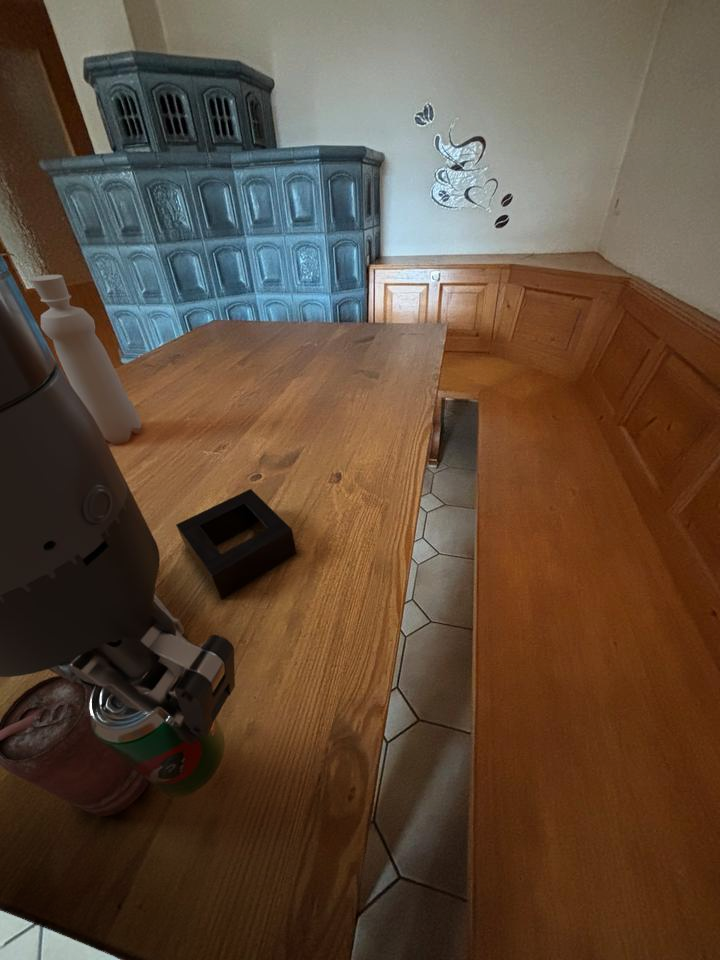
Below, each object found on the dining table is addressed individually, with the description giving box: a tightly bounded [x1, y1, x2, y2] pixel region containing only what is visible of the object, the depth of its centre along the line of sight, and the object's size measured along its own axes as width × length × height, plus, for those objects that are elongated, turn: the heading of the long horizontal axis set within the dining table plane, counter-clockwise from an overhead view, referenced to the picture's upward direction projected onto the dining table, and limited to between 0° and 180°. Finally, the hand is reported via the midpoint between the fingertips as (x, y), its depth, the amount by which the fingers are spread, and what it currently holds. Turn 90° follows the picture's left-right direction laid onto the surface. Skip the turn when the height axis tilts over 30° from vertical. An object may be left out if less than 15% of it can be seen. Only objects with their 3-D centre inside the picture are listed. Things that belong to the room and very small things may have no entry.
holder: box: [176, 488, 297, 600], centre depth 54 cm, size 12×12×5 cm
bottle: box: [29, 274, 142, 445], centre depth 71 cm, size 9×9×30 cm
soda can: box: [90, 671, 226, 798], centre depth 25 cm, size 5×5×12 cm
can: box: [0, 675, 150, 817], centre depth 31 cm, size 6×6×14 cm
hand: (161, 707), depth 24 cm, fingers closed on soda can, 5 cm apart
